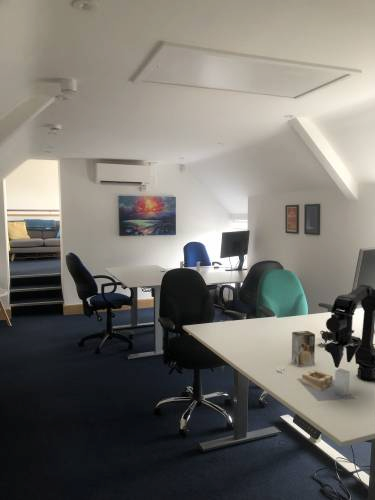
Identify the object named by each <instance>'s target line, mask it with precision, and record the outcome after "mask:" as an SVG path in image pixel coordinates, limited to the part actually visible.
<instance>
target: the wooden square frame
mask: <svg viewBox="0 0 375 500" xmlns="http://www.w3.org/2000/svg"><path fill="white" fill-rule="evenodd" d="M301 376H302V378H301V379H302V384H304V385H307V386H309V387H312V388H315V389H317V390H320V391H321V390H323V389H325V388H327V387H329V386H331V385H332V379H333V375H331V374H327V373H325V372H322V371H319V370H316V369H313V370H311V371H308V372H306V373H303V374H302V375H301ZM302 384H301V385H302Z"/></svg>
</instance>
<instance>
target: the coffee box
mask: <svg viewBox="0 0 375 500" xmlns="http://www.w3.org/2000/svg"><path fill="white" fill-rule="evenodd" d="M291 334H292V335H291V364H292V365H294V366H295V367H297V368H305V367H312V366H315V355H316V354H315V353H316V352H315V347H316V344H315V343H316V334H315V333H313V332H311V331H309V330H302V331H292V332H291Z"/></svg>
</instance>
